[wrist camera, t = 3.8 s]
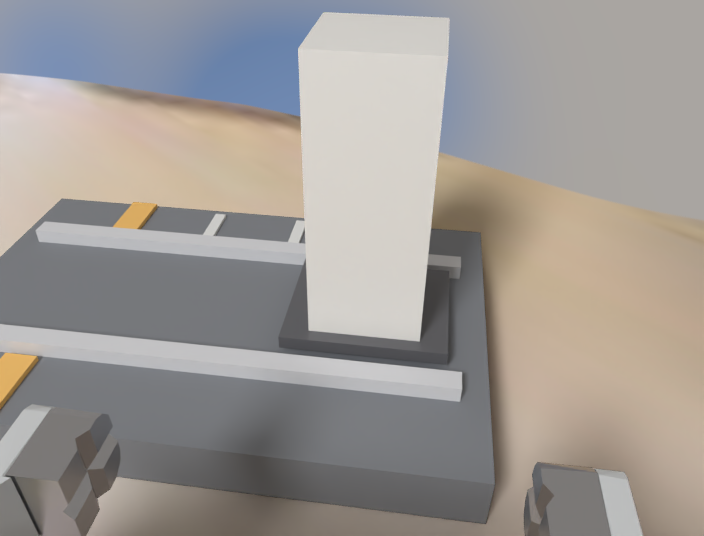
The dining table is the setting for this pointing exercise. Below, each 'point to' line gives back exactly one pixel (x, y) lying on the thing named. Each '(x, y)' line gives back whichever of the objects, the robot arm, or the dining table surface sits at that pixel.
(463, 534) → the dining table surface
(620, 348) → the dining table surface
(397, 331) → the fader knob
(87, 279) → the console
